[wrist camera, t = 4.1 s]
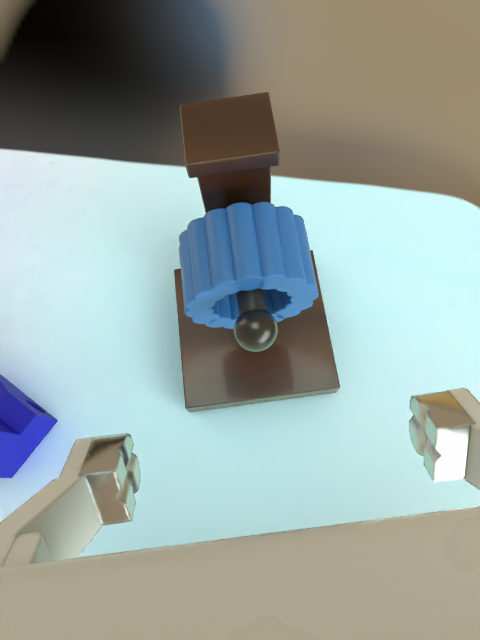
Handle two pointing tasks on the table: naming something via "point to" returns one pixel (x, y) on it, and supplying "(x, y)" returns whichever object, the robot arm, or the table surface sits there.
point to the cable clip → (19, 427)
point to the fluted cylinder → (245, 262)
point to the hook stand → (254, 320)
